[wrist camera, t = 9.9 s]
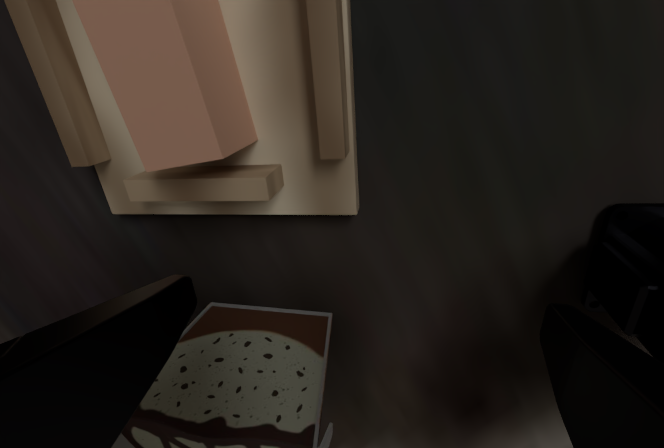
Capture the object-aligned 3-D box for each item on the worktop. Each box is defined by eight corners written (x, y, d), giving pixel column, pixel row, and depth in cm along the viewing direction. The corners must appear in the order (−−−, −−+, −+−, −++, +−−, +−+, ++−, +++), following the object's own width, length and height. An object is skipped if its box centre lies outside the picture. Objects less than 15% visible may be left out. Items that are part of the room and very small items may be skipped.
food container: (208, 359, 28) (121, 495, 20) (192, 300, 26) (83, 425, 17) (354, 377, 26) (330, 540, 17) (353, 314, 24) (324, 468, 15)
